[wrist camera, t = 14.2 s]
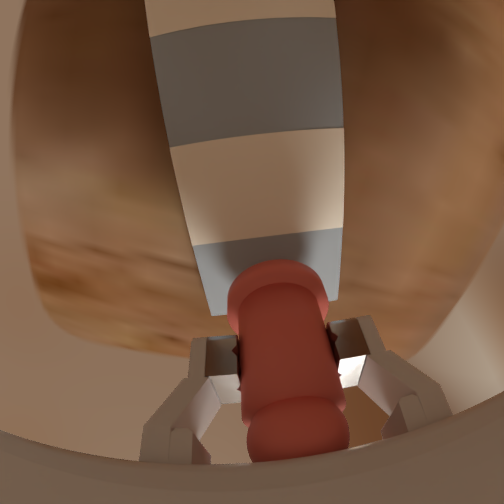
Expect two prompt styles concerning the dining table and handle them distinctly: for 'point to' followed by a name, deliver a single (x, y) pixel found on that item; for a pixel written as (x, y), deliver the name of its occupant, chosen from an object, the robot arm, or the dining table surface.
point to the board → (253, 132)
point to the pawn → (286, 362)
